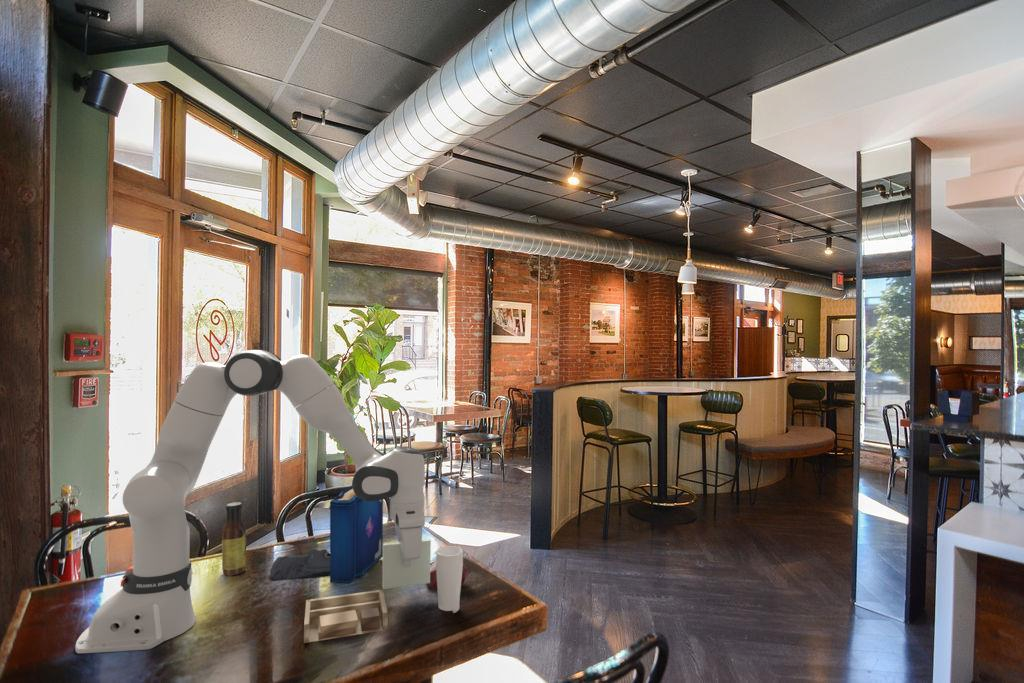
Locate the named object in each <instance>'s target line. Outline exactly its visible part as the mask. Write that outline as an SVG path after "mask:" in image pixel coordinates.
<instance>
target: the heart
mask: <svg viewBox="0 0 1024 683" xmlns="http://www.w3.org/2000/svg"><path fill="white" fill-rule="evenodd" d="M468 577H469V569H468V568H467V566H466V565H465V563H464V562H463V570H462V580H461V586H463V585H464V584H465V582H466V581H468ZM425 585H426V586H427V587H428V588H431V589H432V590H435V589H436V590H438V589H437V575H436V559H435V560H433V561H431V562H430V583H426V584H425Z"/></svg>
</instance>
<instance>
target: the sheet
mask: <svg viewBox="0 0 1024 683" xmlns="http://www.w3.org/2000/svg"><path fill="white" fill-rule="evenodd" d="M431 541H432V540H431V538H422V542H421V552H420V556H419V558H418V559H413V560H411V566H410V567H406V568H405V567H404V564H403V559H404V555H403V553H402V550H401V547H400V543H399V542H398V541H392V542H383V557H382V575H381V576H382V578H381V580H382V582H381V584H382V586H381V587H382V590H388V589H394V588H395V589H396V588H402V587H409V586H417V585H419V586H420V585H423V584H424V585H426V583H430V563H431V550H432V548H431V546H432V545H431Z"/></svg>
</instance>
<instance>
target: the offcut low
mask: <svg viewBox="0 0 1024 683" xmlns="http://www.w3.org/2000/svg"><path fill="white" fill-rule="evenodd" d="M350 634H356V627H352V628H347V629H342V630H336V631H331V632H326V633H321V631H320V623H319V632H318V639H324V638H331V637H337V636H343V635H350Z"/></svg>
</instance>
